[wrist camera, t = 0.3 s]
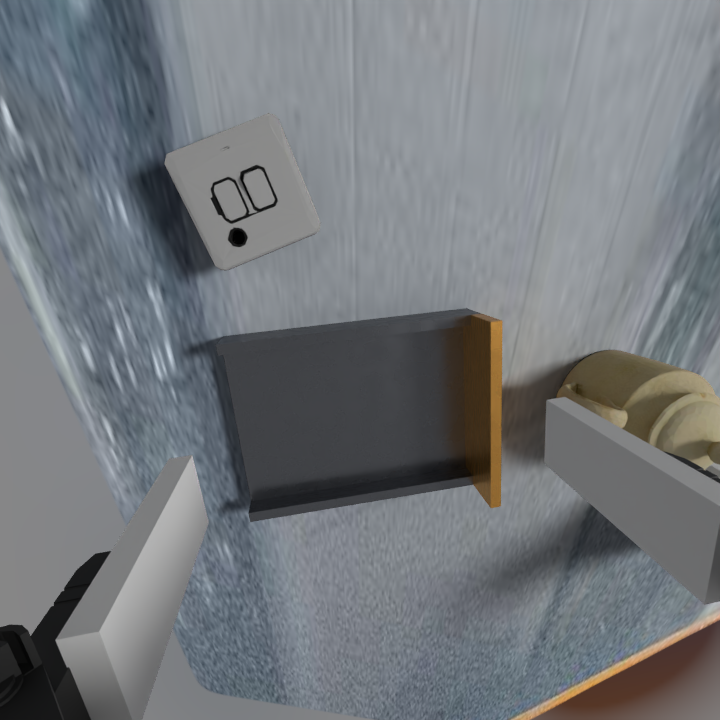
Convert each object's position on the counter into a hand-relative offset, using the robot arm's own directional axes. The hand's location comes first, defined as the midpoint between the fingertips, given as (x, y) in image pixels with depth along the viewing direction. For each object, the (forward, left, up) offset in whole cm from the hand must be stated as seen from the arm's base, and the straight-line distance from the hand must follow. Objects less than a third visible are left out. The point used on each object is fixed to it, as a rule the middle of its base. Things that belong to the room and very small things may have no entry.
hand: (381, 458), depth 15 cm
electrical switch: (-8, -4, -26) cm, 27 cm away
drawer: (+8, +2, -25) cm, 27 cm away
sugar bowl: (+11, +28, -26) cm, 39 cm away
